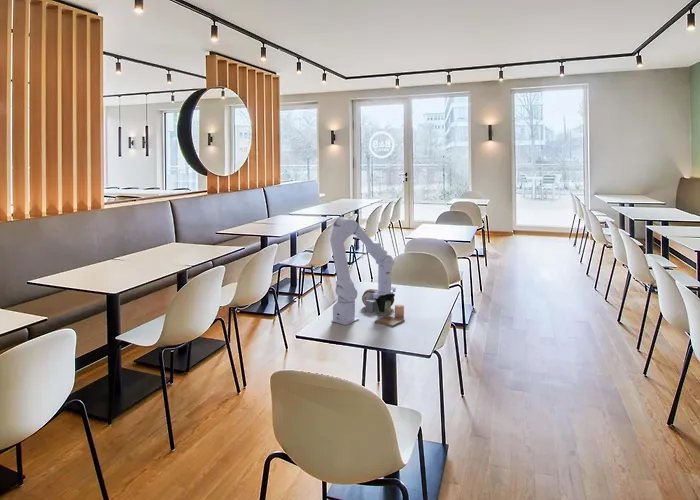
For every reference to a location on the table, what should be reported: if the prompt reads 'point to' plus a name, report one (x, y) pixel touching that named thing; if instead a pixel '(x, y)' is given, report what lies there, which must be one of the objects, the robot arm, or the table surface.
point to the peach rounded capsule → (399, 311)
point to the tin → (370, 296)
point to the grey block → (371, 305)
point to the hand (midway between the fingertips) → (384, 310)
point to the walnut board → (389, 321)
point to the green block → (386, 309)
